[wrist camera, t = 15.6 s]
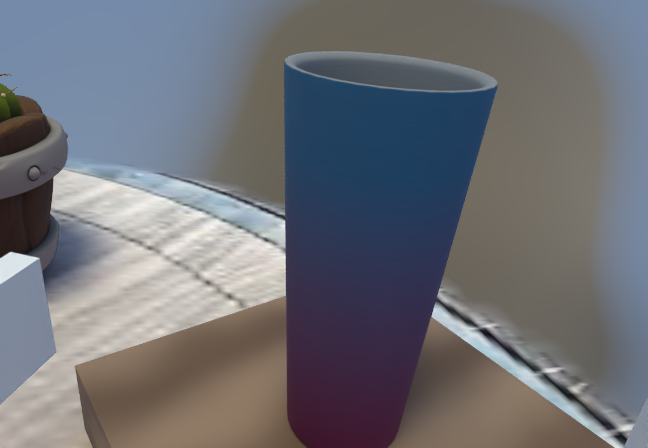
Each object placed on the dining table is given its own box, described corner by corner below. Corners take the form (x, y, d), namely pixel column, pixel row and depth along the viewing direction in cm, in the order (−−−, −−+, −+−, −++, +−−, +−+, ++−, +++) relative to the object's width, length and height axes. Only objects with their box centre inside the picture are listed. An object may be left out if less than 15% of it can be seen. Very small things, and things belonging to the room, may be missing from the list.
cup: (302, 503, 19) (343, 92, 13) (246, 380, 25) (255, 48, 18) (451, 449, 22) (547, 90, 16) (371, 350, 28) (417, 53, 21)
